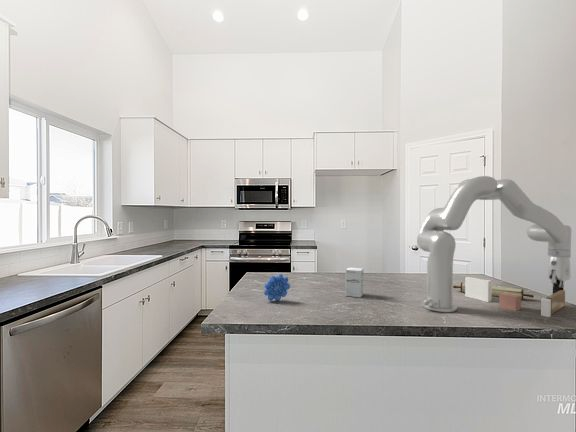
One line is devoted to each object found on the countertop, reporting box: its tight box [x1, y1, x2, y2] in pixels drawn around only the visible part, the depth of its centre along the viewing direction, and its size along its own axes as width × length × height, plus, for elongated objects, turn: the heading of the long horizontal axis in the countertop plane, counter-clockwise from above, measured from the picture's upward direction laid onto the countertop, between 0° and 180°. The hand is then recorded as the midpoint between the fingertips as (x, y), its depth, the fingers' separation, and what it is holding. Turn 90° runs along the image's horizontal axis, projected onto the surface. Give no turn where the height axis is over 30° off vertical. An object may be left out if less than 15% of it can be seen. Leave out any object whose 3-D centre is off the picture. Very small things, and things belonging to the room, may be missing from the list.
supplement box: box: [344, 267, 364, 299], centre depth 150 cm, size 7×7×13 cm
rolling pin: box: [453, 282, 535, 301], centre depth 149 cm, size 32×6×5 cm, turn 54°
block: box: [498, 293, 522, 312], centre depth 130 cm, size 4×6×6 cm
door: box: [545, 290, 566, 315], centre depth 127 cm, size 2×21×6 cm, turn 127°
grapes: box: [263, 273, 291, 302], centre depth 140 cm, size 12×7×12 cm, turn 95°
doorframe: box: [464, 276, 552, 318], centre depth 134 cm, size 5×33×9 cm, turn 31°
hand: (557, 295), depth 136 cm, fingers closed
